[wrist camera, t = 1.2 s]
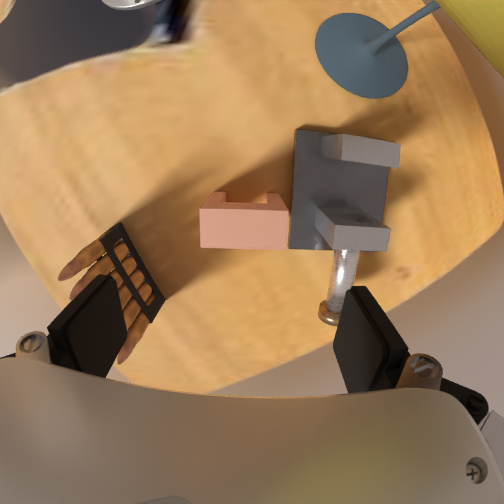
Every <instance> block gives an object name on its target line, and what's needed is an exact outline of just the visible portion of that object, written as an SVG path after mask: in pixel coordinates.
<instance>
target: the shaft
mask: <svg viewBox="0 0 504 504" xmlns="http://www.w3.org/2000/svg"><path fill="white" fill-rule="evenodd" d="M359 255H360V250H335V251H334V258H333V265H332V271H331V277H330V283H329V289H328V295H327V300H324V301H322V302H321V303H320V306H319V312H318V316H319V318H320V320H322V321H323V322H324V323H326V324H329V325H332V326H338V323H339V319H340V315H341V310H342V306H343V302H344V297H345V293H346V291H347V290H348V289H350V288H351V287H352V286H354V281H355V276H356V271H357V266H358V260H359Z"/></svg>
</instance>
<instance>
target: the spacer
mask: <svg viewBox="0 0 504 504" xmlns="http://www.w3.org/2000/svg"><path fill="white" fill-rule="evenodd" d="M199 211H200V248H229V249H262V250H286V240H287V227H288V213H289V211H288V209H287V207H286V206H285V204H284V202H283V200H282V199H281V197H280V195H279V193H266V203H237V202H226V192H213V194H212V195H211V196H210V197H209V198H208V199H207V200H206V202H205V203H204V204H203V205H202V206H201V207H200V209H199Z"/></svg>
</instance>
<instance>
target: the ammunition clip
mask: <svg viewBox="0 0 504 504" xmlns="http://www.w3.org/2000/svg"><path fill="white" fill-rule="evenodd" d="M106 252H107V253H106ZM105 253H106V254H105ZM103 254H105V255H104V256H103V257H102V255H103ZM96 260H97V262H96V263H95V264H94V265H93V266H91V267H90V268H89V269H88V271H87V272H86V274H85V275H84V276H83V277H82V279H80V280H79V281H78V282H77V284H76V285H75V286H74V288H73V289H72V291H71V294H70V297H69V298H70V300H73V299H74V298H75V297H76V296H77V295H78V294H79V293H80V292H81V291H82V290H83V289H84V288H85V287H86V286H87V285H88V284H89V283H90V282H91V281H92V280H93V279H94V278H95V277H96V276H97V275H99V274H103V275H111V276H112V277H113V279H115V280H116V282H117V286H118V292H119V297H120V301H121V306H122V311H123V315H124V319H125V323H126V328H127V329H128V330H127V332H128V335H127V339H126V341H125V343H124V345H123V346H122V348H121V350H120V352H119V354H118V356H117V364H121V363H123V362H124V361H125V360H126V359H127V358H128V356H129V355H130V354H131V352H132V350H133V348H134V347H135V346H136V344H137V343H138V342H139V340H140V339H141V338H142V336H143V334H144V332H145V330H146V328H147V326H148V324H149V322H150V323H152V322H153V320H154V318H155V317H156V315H157V313H158V312H159V310H160V308H161V307H162V305H163V303H164V302H165V298H164V297H163V295H162V294H161V292H160V290H159V289H158V287H157V285H156V284H155V282H154V281H153V279H152V277H151V275H150V274H149V272H148V270H147V269H146V267H145V265H144V264H143V262H142V260H141V258H140V256H139V255H138V253H137V251H136V249H135V248H134V246H133V244H132V242H131V240H130V238H129V236H128V235H127V233H126V231H125V229H124V227H123V225H122V223H119V224H117V225H115V226H113V227H112V228H110V229H109V230H107V231H106V232H105V233H104V234H103V235H101V236H100V237H99V238H98V239H96V240H95V241H94V242H92V243H91V244H89V245H88V246H87V247H85V248H84V249H82V250H81V251H80V252H79V253H78V255H77V256H76V257H75V258H74V259H73V260H72V261H70V262H69V263H68V264H67V265H66V266H65V267H64V268H63V270H62V271H61V273H60V274H59V277H58V281H64V280H67V279H69V278H71V277H73V276H74V275H76V274H77V273H78V272H80V271H81V270H83V269H84V268H86V267H88V266H90V265H91V264H92V263H94V262H95V261H96ZM113 268H115V269H114V270H113V271H112V272H111V270H112V269H113Z"/></svg>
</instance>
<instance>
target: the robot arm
mask: <svg viewBox="0 0 504 504" xmlns="http://www.w3.org/2000/svg"><path fill="white" fill-rule="evenodd" d="M102 1H103V2H104V3H105V4H107V5H108V6H110V7H111V8H114V9H118V10H133V9H137V8H143V7H146V6H149V5H152V4H154V3H157V2H159V1H162V0H102ZM47 329H48V331H49V335H48V336H46V335H45V334H44V333H43V332H39V331H34V332H30V333H27V334H25V335H24V336H22V337H21V338H20V339H19V341H18V342H17V345H16V353H14V354H10V355H7V356H4V357H1V358H0V504H504V418H503V417H502V416H500V415H499V414H498V413H496V412H495V411H494V410H492V411H491V413H489V412H488V403H487V401H486V399H485V398H484V397H483V396H482V395H481V394H480V393H478V392H476V391H474V390H471V389H469V388H466V387H463V386H461V385H459V384H456V383H454V382H452V381H449V380H447V379H444V378H442V375H443V369H442V367H441V364H440V363H439V362H438V361H437V360H436V359H435V358H434V357H432V356H429V355H426V354H420V353H418V354H413V355H410V353H409V352H408V347H407V345H406V344H405V342H404V341H403V339H402V338H401V336H400V335H399V333H398V332H397V330H396V329H395V327H394V326H393V324H392V323H391V321H390V320H389V318H388V317H387V316H386V314H385V312H384V311H383V310H382V308H381V307H380V305H379V304H378V302H377V301H376V300H375V298H374V297H373V295H372V294H371V293H370V291H369V290H368V289H367V287H366V286H352V287H351V288H350V289H348V290H347V291H346V293H345V297H344V302H343V306H342V310H341V315H340V319H339V323H338V327H337V331H336V334H335V338H334V342H333V349H334V352H335V355H336V358H337V361H338V363H339V367H340V370H341V373H342V376H343V379H344V382H345V385H346V388H347V391H348V394H336V395H322V396H302V397H246V396H225V395H212V394H200V393H191V392H182V391H174V390H167V389H160V388H154V387H147V386H142V385H136V384H131V383H126V382H121V381H116V380H111V379H107V378H106V376H107V374H108V372H109V370H110V368H111V367H112V365H113V363H114V361H115V359H116V357H117V355H118V354H119V352H120V350H121V348H122V346H123V345H124V343H125V341H126V339H127V335H128V332H127V328H126V323H125V319H124V315H123V311H122V306H121V301H120V297H119V292H118V286H117V282H116V280H115V279H113V277H112V276H111V275H103V274H99V275H97V276H96V277H95V278H94V279H93V280H92V281H91V282H90V283H89V284H88V285H87V286H86V287H85V288H84V289H83V290H82V291H81V292H80V293H79V294H78V295H77V296H76V297H75V298H74V299H73V300H72V301H71V302H70V303H69V304H68V305H67V306H66V307H65V308H64V310H63V311H62V312H61V313H60V314H59V315H58V316H57V317H56V318H55V319H54V320H53V321H52V323H51V324H50V325H49V326H48V327H47Z"/></svg>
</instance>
